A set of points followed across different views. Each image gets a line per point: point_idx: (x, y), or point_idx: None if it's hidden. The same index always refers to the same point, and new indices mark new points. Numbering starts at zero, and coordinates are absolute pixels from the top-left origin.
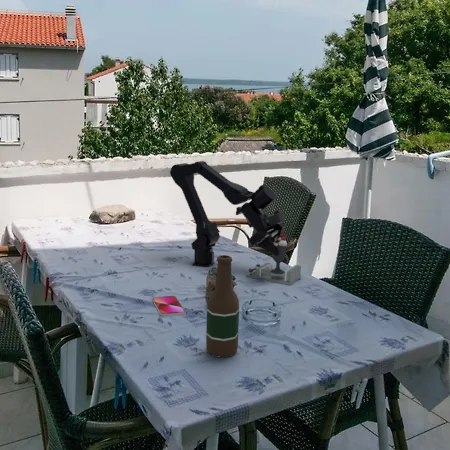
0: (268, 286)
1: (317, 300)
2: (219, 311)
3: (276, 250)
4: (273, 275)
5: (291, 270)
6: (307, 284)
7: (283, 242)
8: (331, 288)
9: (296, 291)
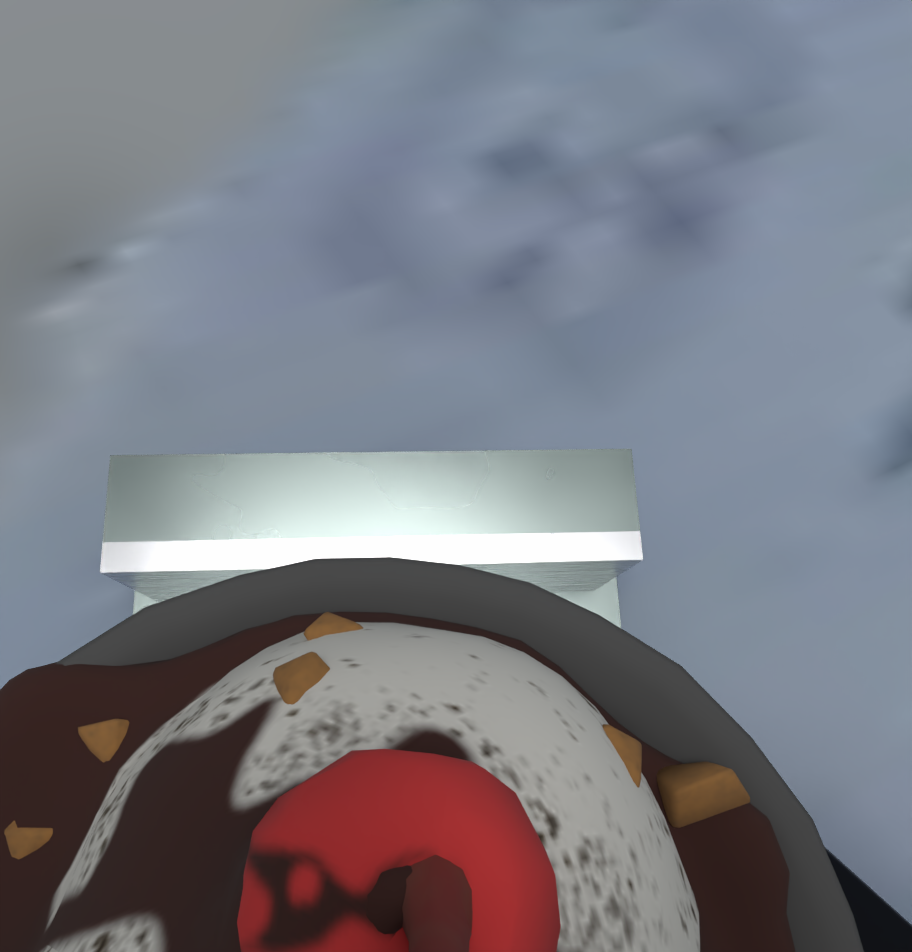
0: (839, 753)
1: (849, 67)
2: None
3: (855, 882)
4: None
5: (528, 482)
6: (402, 329)
7: (594, 733)
8: (375, 55)
9: (750, 345)
